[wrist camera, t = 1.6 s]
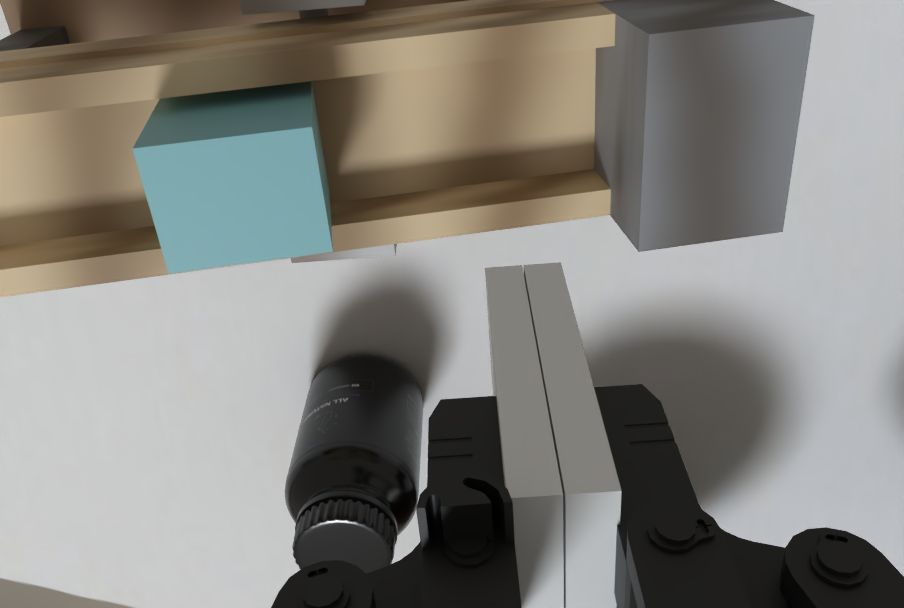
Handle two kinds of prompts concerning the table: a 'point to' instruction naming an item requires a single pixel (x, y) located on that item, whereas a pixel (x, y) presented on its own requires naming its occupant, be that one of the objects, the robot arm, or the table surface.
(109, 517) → the table surface
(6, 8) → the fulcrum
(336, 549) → the supplement bottle
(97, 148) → the beam
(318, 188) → the block
